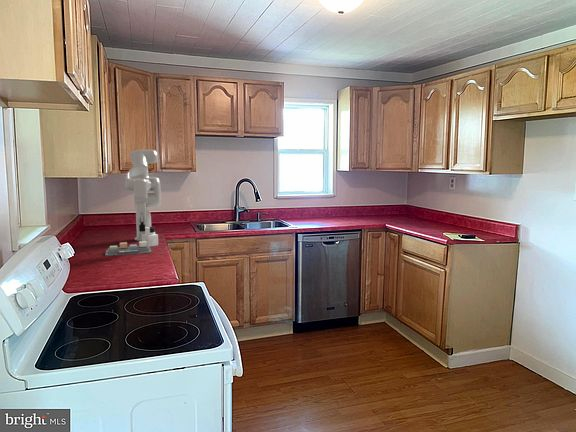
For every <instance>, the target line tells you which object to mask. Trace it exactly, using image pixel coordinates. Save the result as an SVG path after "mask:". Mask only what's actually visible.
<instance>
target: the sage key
mask: <svg viewBox="0 0 576 432" xmlns="http://www.w3.org/2000/svg"><path fill="white" fill-rule="evenodd" d="M117 247H118V245H110V246H109V248H110V250H116V249H118V248H117Z"/></svg>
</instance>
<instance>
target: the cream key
mask: <svg viewBox="0 0 576 432" xmlns="http://www.w3.org/2000/svg"><path fill="white" fill-rule="evenodd" d="M138 246H140V247H146V246H147V242H146V241H138Z"/></svg>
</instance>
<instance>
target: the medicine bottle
mask: <svg viewBox="0 0 576 432" xmlns="http://www.w3.org/2000/svg"><path fill="white" fill-rule="evenodd" d="M154 233H155V234H154ZM142 241H146V242H147V246H148V247H150V248H152V247H157V246H159V234H157V233H156V228H155V226H151V227H145V234H143V235H142Z"/></svg>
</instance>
